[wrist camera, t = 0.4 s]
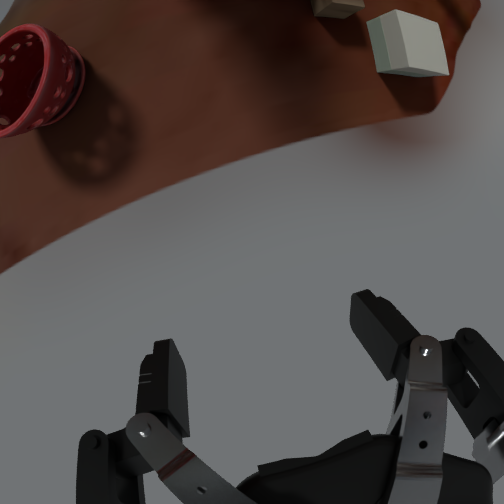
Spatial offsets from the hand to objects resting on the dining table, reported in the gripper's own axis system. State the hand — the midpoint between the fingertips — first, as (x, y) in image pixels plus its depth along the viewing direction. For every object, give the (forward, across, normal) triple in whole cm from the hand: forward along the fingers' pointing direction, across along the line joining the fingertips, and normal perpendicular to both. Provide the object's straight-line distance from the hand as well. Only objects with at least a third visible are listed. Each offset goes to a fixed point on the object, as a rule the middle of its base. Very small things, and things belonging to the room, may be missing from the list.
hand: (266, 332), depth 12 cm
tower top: (+24, -31, -19) cm, 44 cm away
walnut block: (+28, -20, -26) cm, 43 cm away
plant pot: (+28, +20, -21) cm, 40 cm away
